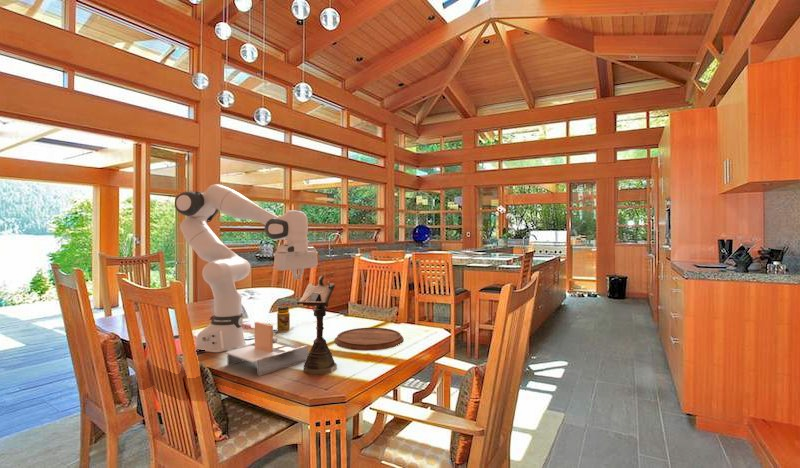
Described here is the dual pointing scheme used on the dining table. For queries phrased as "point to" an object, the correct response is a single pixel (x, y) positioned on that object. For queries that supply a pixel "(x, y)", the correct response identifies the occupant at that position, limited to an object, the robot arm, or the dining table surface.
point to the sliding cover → (257, 345)
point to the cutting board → (368, 338)
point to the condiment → (283, 319)
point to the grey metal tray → (275, 357)
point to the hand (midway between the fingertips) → (297, 279)
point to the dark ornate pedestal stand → (318, 328)
